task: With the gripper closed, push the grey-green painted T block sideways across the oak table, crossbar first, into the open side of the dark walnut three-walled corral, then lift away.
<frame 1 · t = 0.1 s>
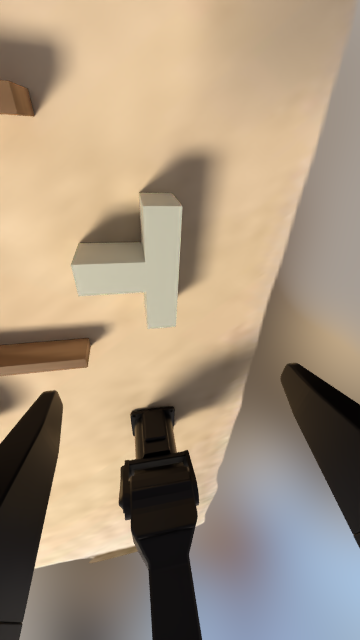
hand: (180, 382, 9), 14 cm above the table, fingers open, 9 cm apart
t block: (142, 256, 21), on the table
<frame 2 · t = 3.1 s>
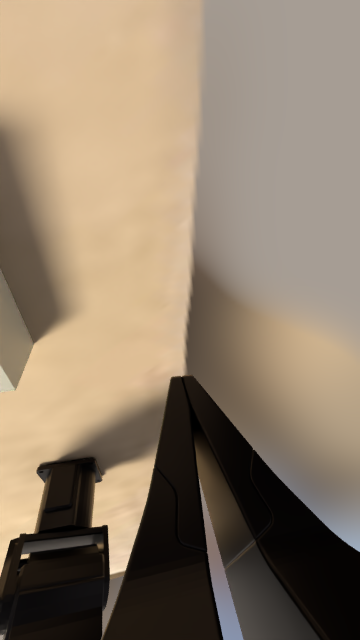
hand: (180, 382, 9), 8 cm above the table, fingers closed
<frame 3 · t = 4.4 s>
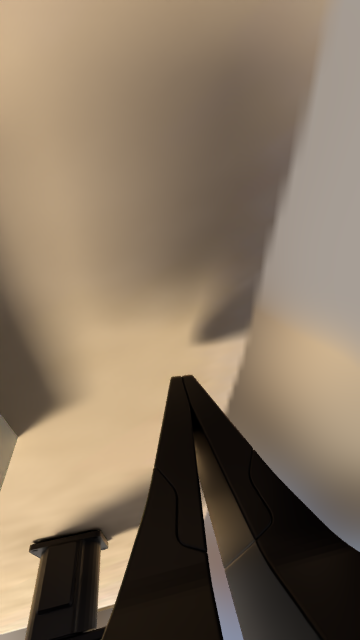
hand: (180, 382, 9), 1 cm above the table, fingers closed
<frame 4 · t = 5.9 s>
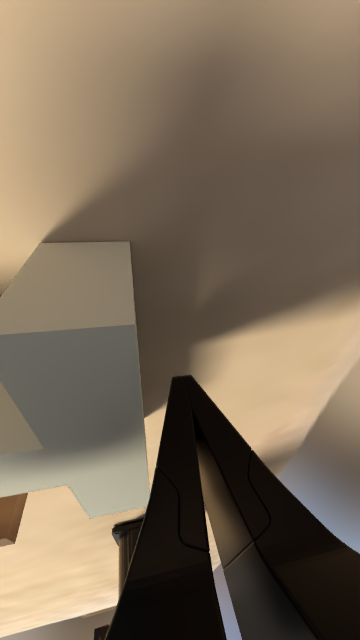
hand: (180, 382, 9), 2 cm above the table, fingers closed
t block: (77, 362, 10), on the table, touching gripper
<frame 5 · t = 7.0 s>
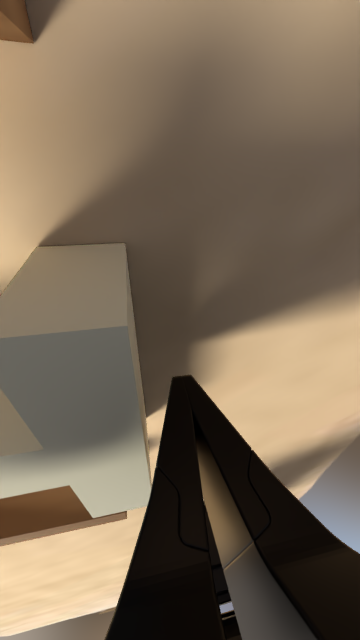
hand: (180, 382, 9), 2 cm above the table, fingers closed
t block: (77, 364, 10), on the table, touching gripper
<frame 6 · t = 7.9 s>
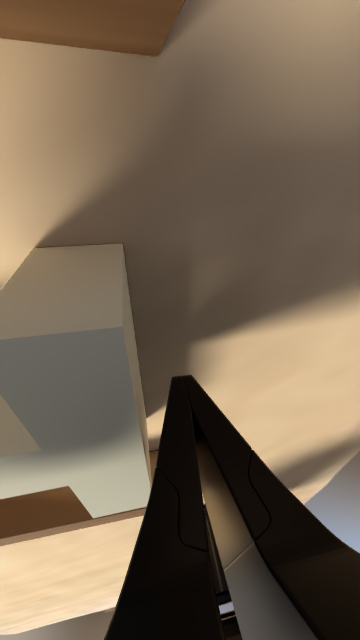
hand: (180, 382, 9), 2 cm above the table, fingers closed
t block: (77, 365, 10), on the table, touching gripper
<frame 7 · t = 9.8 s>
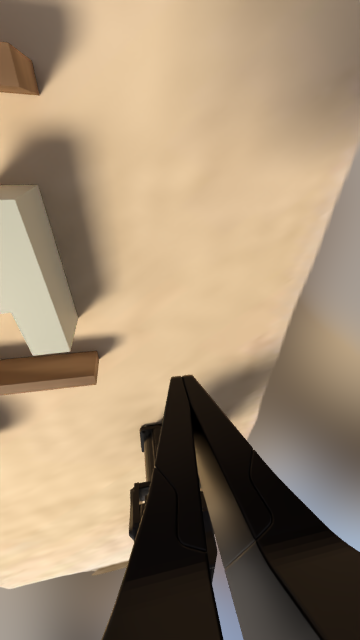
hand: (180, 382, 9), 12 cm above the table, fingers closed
t block: (24, 265, 17), on the table
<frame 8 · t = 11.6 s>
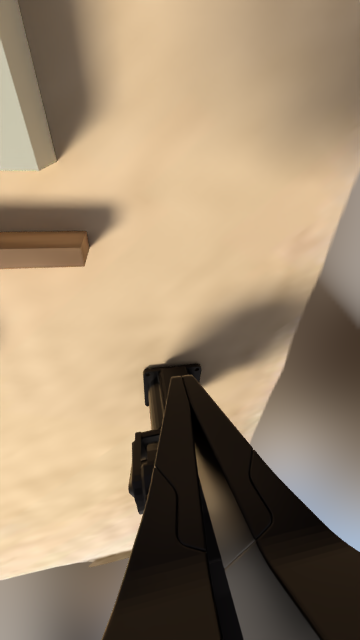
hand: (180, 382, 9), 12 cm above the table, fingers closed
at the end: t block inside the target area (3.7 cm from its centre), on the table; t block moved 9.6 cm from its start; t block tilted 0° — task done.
